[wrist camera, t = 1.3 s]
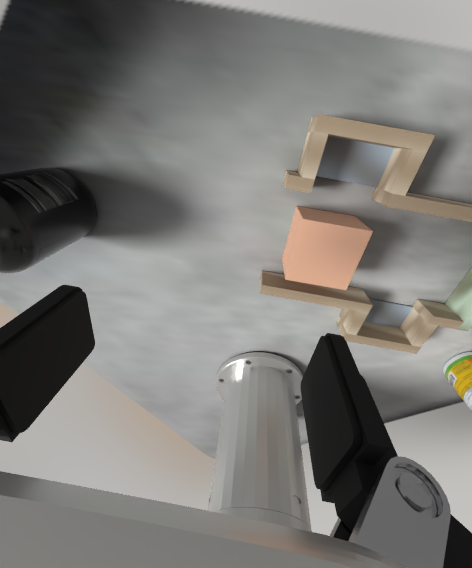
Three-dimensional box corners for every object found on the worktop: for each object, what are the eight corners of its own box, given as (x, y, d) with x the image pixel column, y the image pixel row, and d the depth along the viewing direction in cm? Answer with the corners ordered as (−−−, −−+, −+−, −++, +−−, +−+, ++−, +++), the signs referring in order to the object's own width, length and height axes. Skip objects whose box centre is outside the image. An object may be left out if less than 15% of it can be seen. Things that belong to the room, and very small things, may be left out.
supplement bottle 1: (17, 174, 24) (-171, 201, 13) (78, 160, 22) (-77, 178, 12) (56, 241, 27) (-71, 303, 17) (110, 231, 26) (10, 293, 16)
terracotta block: (333, 267, 26) (346, 290, 22) (282, 258, 26) (285, 279, 22) (354, 215, 23) (373, 231, 19) (296, 205, 23) (302, 219, 19)
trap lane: (427, 339, 29) (443, 358, 26) (253, 307, 29) (252, 323, 26) (563, 163, 19) (609, 166, 17) (299, 115, 19) (304, 111, 17)
